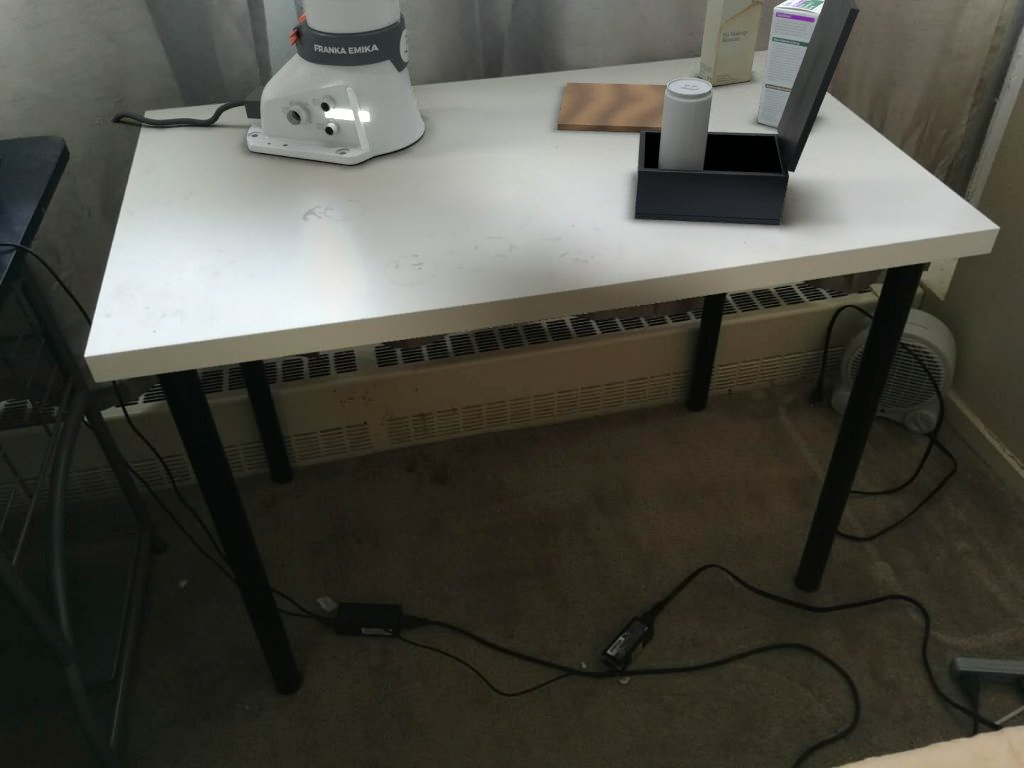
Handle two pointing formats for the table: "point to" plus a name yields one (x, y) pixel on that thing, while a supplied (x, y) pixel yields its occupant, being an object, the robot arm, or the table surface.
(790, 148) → the lid
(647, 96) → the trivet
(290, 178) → the table surface
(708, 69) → the cosmetic box
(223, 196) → the table surface
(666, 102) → the beverage can
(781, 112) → the syrup box
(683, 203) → the black open box
